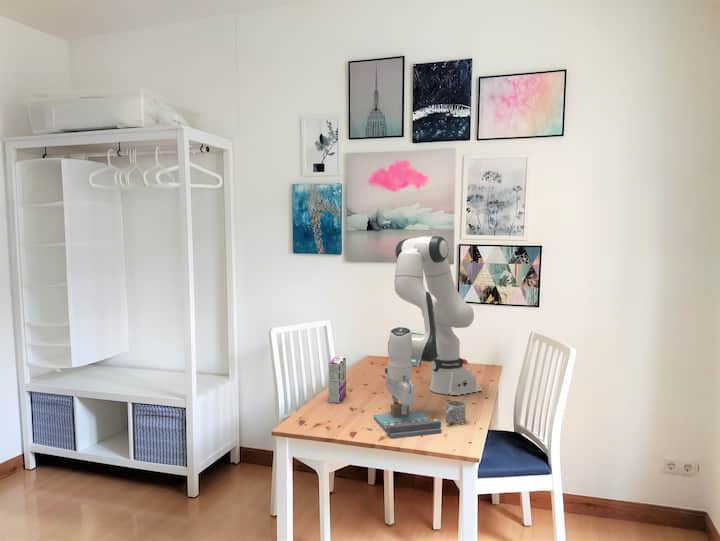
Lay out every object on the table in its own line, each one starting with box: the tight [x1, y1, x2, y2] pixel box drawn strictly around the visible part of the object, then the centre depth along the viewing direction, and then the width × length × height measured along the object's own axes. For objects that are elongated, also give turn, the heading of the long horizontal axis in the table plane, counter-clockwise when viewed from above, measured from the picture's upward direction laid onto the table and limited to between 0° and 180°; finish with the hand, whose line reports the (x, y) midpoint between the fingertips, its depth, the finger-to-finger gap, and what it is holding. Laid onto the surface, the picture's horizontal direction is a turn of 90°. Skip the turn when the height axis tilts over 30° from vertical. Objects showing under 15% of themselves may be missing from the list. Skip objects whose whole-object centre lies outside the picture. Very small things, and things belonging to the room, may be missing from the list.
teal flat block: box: [373, 402, 430, 428], centre depth 194 cm, size 18×9×5 cm, turn 106°
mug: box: [445, 400, 466, 425], centre depth 192 cm, size 10×7×7 cm
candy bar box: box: [328, 355, 347, 404], centre depth 218 cm, size 11×5×16 cm, turn 168°
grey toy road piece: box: [381, 418, 442, 439], centre depth 184 cm, size 19×10×4 cm, turn 106°
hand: (399, 410), depth 195 cm, fingers open, 7 cm apart
